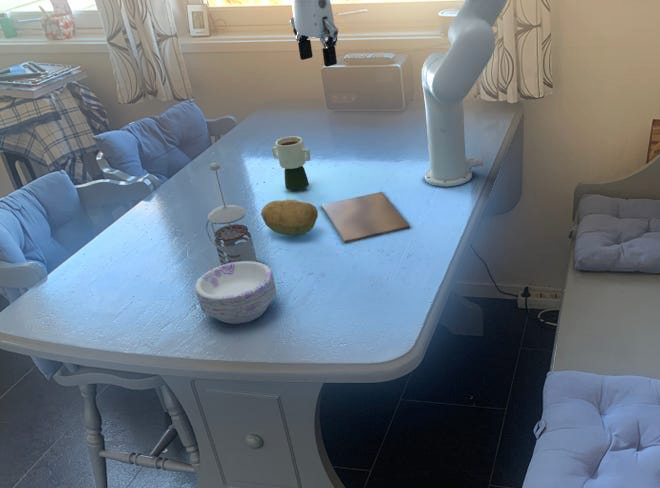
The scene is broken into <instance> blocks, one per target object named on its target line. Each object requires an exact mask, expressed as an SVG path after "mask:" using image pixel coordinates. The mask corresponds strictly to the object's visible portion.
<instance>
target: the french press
mask: <svg viewBox="0 0 660 488" xmlns="http://www.w3.org/2000/svg"><path fill="white" fill-rule="evenodd" d="M220 168H221V167H220V164H219V163H218V162H212V163H211V164H210V166H209V169H210V170H211V171H215V175H216V179H217V183H218V187H219V192H220V195H221V200H222V203H223V205H220V206H219V207H216V208H214V209H213V210H211V211H210V212H209V213H208V215H207V217H206V218H207V221H206V224H205V229H206V234H207V237H208V238H209V240H210V242H211V243H212V244H213V245H214V247H215V249H216V251H217V255H218V258H219V263H220V266H221V265H225V264H228V263H233V262H241V261H253V262H258V261H257V260H258V259H257V256H256V251H255V247H254V241H253V238H252V234H251V233H250V232H249V228H248V227H247V226H246V225H244V224H240V223H237V222H239V221H241V220H243V219H244V218H245V217H246V215H247V210H246V208H244V207H242V206H240V205H235V204H227V205H226V203H225V199H224V195H223V191H222V186H221V183H220V179H219V175H218V170H220ZM209 222H210V223H211V228H212V232H213V234H214V235H213V236H214V237H215V239H214V240H212V238H211V236H210V233H209V229H208V224H209ZM214 225H224V226H221V227H219V228H217V230H215V228H214ZM242 240H243V241H242ZM238 241H241V242H238ZM236 242H238V243H236ZM225 254H226V255H225Z"/></svg>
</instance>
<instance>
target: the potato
mask: <svg viewBox="0 0 660 488" xmlns="http://www.w3.org/2000/svg"><path fill="white" fill-rule="evenodd" d="M260 216H261V217H262V219H263V222H264V224H265V226H266V227H268V228H269V229H270V230H271V231H272V232H274V233H275V234H279V235H283V236H301V235H306V234H307V233H309V232H310V231H311V230H312V229H313V228H314V227H315V225H316V222H317V219H318V217H319V211H318V209H317V207H316V206H315V205H314V204H312V203H311V202H307V201H301V200H297V199H283V200H273V201H270V202H268V203H266V204H265V205H264V207H262V209H261V212H260Z"/></svg>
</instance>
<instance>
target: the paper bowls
mask: <svg viewBox="0 0 660 488" xmlns="http://www.w3.org/2000/svg"><path fill="white" fill-rule="evenodd" d="M194 289H195V293H196V297H197V300H198V303H199V306H200V309H201V311H202V313H203V314H205V315H206V316H208V317H210V318H214V319H217V320H219V321H220V322H222V323H226V324H230V325H236V324H237V325H239V324H245V323H249V322H251V321H254V320H256V319H258V318H259V317H261V316H262V315H263V314H264V313H265V312H266V311H267V309H268V306H270V305H271V304H272V303H273V302H274V301H275V298H276V297H277V288H276V284H275V279H274V274H273V271H272V269H271V268H270V267H269V266H268V265H266V264H264V263H262V262H260V261H257V262H253V261H241V262H233V263H228V264H227V263H226V264H225V265H221V264H220V265H218V266H216V267H213V268H212V269H209V270H208V271H206V272H205V273H203V274H202V275H201V276H200V277H199V278H198V279H197V280H196V283H195V286H194Z"/></svg>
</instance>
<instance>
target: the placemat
mask: <svg viewBox="0 0 660 488" xmlns="http://www.w3.org/2000/svg"><path fill="white" fill-rule="evenodd" d="M321 208H322V209H323V211H324V212H325V214H326V215H327V217H328V218H329V220H330V222H331V223H332V225H333V227H334V228H335V230H336V232H337V233H338V234H339V236H340V237H341V239H342V241H343V243H345V244H347V243H350V242H351V243H352V242H356V241H360V240H364V239H368V238H372V237H373V238H374V237H376V236H377V237H378V236H381V235H386V234H390V233H394V232H398V231H399V232H400V231H402V230H407V229H411V226H410V224H409V223H408V221H406V219H405V218H404V217H403V216H402V215H401V213H400V212H399V211H398V210H397V209H396V207H395V206H394V205H393V203H391V201H390V200H389V199H388V197H387V196H386V195H385V194H384V193H383V192H382V191H380V192H375V193H370V194H366V195H365V194H364V195H360V196H356V197H352V198H347V199H343V200H338V201H333V202H329V203H324V204H321Z"/></svg>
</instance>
